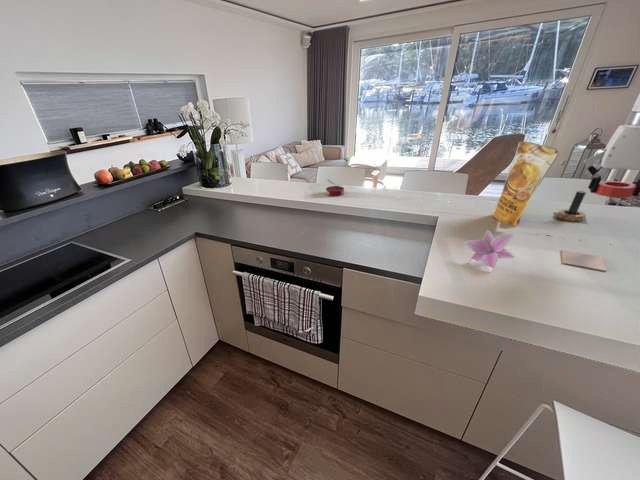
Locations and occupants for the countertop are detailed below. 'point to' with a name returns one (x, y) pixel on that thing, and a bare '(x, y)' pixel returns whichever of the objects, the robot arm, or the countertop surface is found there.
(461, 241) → the countertop surface
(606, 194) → the top ring
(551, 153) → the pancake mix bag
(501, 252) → the lily
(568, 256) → the cork mat
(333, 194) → the red bowl with spoon
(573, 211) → the post stand
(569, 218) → the bottom ring
